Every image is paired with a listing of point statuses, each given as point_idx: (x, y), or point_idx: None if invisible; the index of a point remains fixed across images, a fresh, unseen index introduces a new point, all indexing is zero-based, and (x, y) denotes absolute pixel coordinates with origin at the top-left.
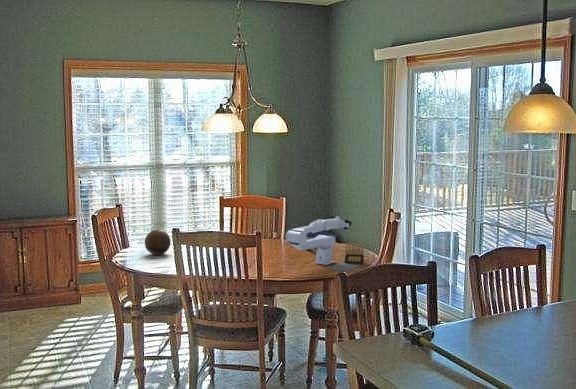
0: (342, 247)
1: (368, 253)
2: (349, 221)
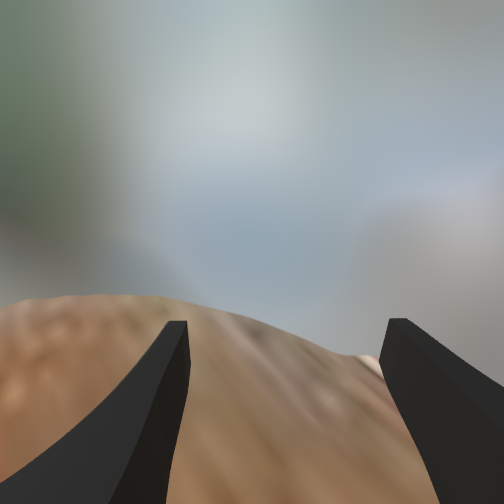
0: (127, 333)
1: (309, 351)
2: (494, 382)
